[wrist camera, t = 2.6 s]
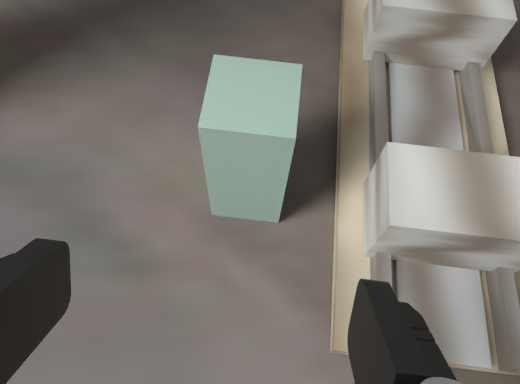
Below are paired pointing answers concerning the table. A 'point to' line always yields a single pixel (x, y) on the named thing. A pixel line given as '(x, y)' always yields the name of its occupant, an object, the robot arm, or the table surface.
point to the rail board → (429, 175)
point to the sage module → (249, 135)
